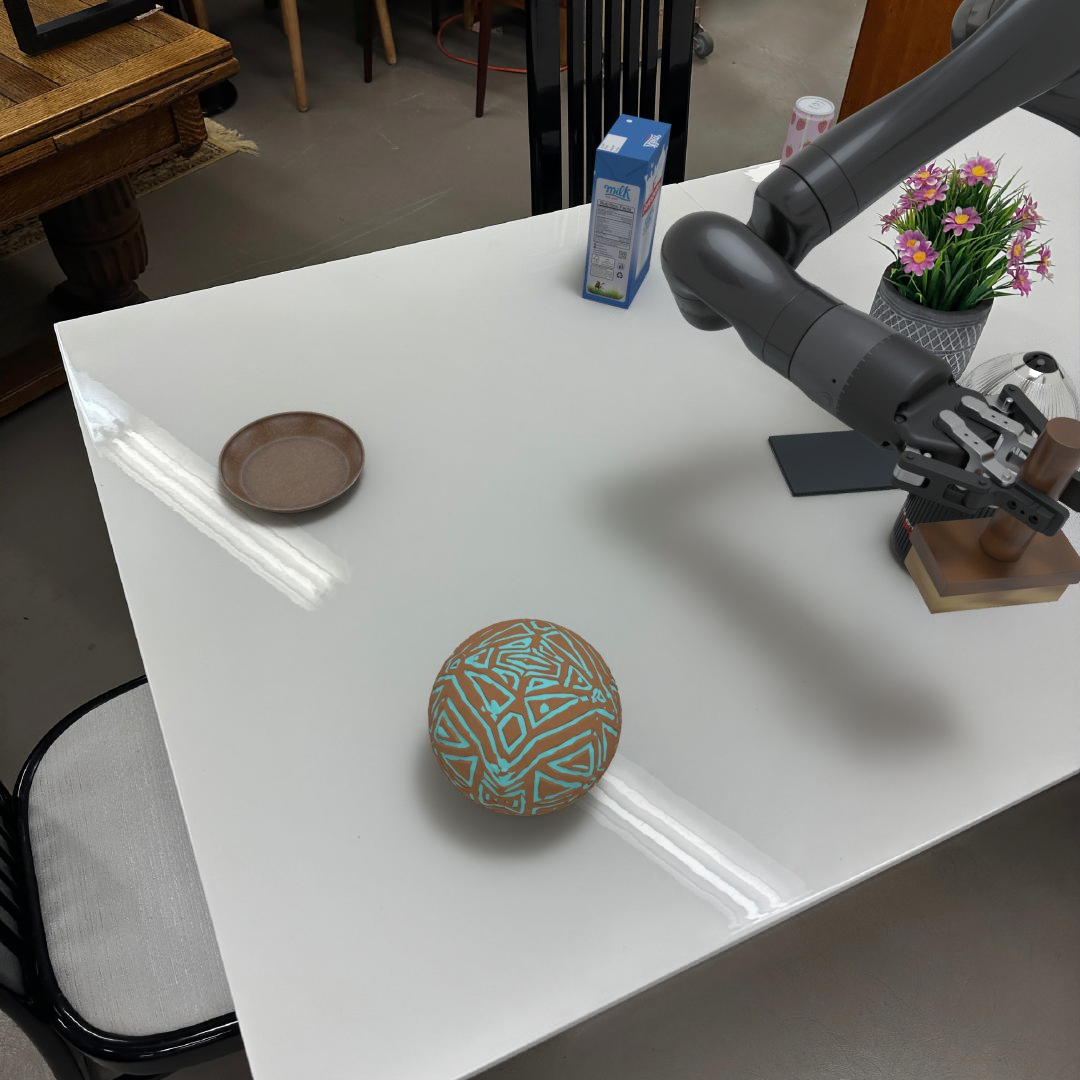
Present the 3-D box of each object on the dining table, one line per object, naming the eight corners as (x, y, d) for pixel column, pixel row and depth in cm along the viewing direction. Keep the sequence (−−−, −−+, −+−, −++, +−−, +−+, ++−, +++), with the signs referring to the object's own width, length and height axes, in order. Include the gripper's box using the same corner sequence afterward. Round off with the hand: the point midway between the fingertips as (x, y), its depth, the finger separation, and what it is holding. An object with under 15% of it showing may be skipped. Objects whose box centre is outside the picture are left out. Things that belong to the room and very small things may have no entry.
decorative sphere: (407, 824, 76) (395, 726, 65) (460, 670, 86) (457, 562, 75) (592, 869, 75) (613, 776, 63) (625, 707, 84) (647, 602, 73)
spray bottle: (910, 596, 94) (1017, 399, 76) (870, 519, 101) (959, 321, 82) (1006, 586, 96) (1135, 391, 77) (961, 511, 102) (1069, 315, 84)
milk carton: (627, 309, 124) (648, 160, 109) (582, 298, 125) (596, 149, 110) (649, 269, 130) (671, 123, 115) (605, 259, 131) (621, 113, 116)
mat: (884, 431, 110) (886, 427, 110) (916, 487, 104) (917, 483, 104) (767, 439, 108) (768, 435, 108) (793, 497, 103) (794, 493, 102)
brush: (1027, 546, 74) (1123, 397, 63) (1063, 604, 71) (1172, 456, 60) (898, 558, 73) (973, 408, 62) (928, 618, 69) (1014, 469, 58)
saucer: (354, 419, 107) (352, 400, 105) (378, 512, 98) (376, 494, 96) (217, 440, 104) (212, 421, 102) (229, 540, 95) (224, 521, 93)
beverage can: (809, 198, 145) (837, 98, 133) (807, 217, 141) (836, 116, 130) (771, 192, 145) (795, 92, 134) (768, 211, 142) (793, 110, 130)
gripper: (819, 371, 66) (1042, 522, 57) (942, 301, 72) (1161, 428, 63) (792, 451, 71) (992, 599, 63) (909, 380, 77) (1105, 506, 69)
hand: (1075, 512), depth 63 cm, fingers closed on brush, 3 cm apart
